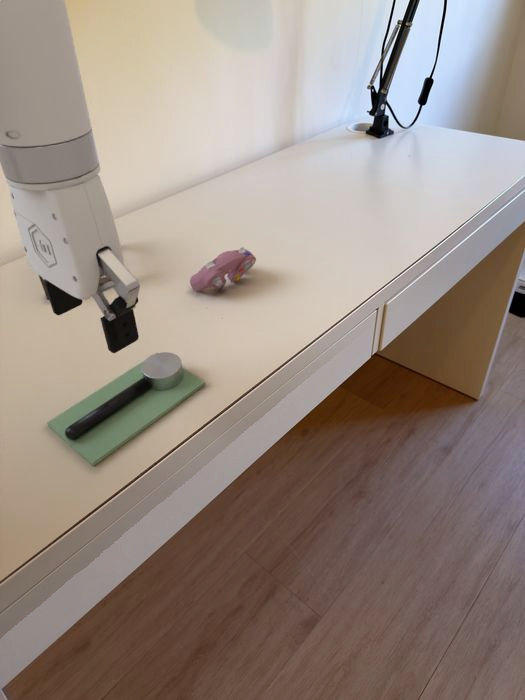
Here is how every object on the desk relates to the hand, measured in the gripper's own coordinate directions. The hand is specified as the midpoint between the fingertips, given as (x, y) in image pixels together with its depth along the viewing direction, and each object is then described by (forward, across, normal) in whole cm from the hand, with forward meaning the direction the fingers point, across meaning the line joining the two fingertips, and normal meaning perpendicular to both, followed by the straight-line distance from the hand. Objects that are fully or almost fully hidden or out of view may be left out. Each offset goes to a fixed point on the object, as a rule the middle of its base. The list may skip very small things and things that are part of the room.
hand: (95, 326), depth 54 cm
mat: (+12, 0, +1) cm, 12 cm away
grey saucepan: (+11, 0, +1) cm, 12 cm away
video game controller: (+12, -10, +27) cm, 31 cm away
